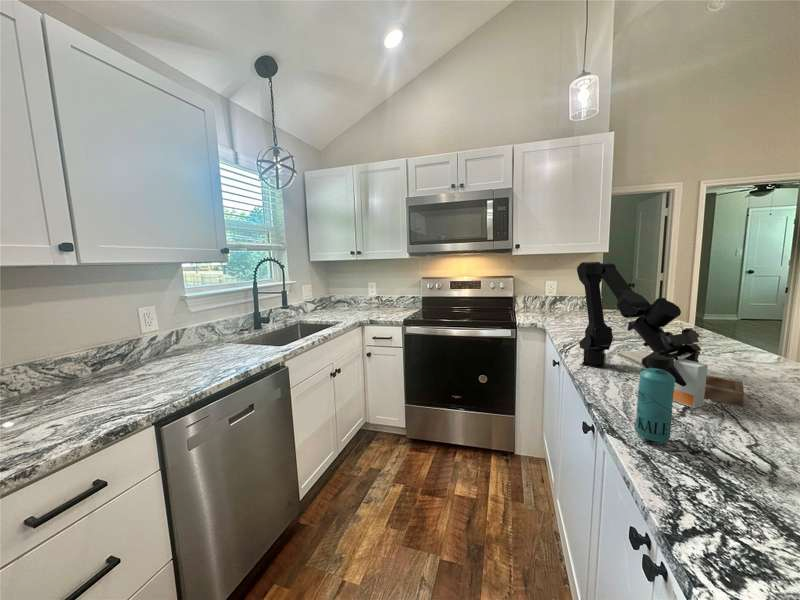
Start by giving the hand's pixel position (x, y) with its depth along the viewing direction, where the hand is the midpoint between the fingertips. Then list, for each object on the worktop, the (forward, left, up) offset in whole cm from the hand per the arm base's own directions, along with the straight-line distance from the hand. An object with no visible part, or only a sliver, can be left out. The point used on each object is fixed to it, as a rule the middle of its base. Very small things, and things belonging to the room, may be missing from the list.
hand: (694, 382), depth 89 cm
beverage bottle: (-5, -28, -7) cm, 29 cm away
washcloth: (-15, +35, -7) cm, 39 cm away
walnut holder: (+4, +14, -7) cm, 15 cm away
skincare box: (-1, +1, -7) cm, 7 cm away
